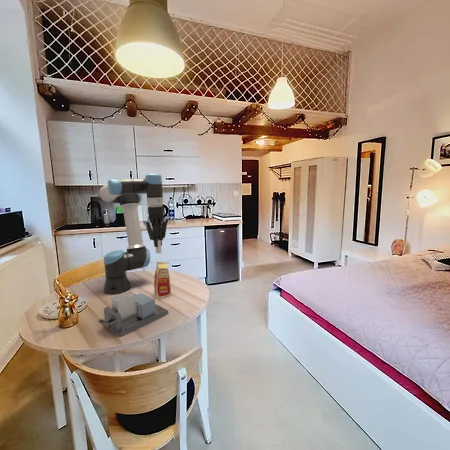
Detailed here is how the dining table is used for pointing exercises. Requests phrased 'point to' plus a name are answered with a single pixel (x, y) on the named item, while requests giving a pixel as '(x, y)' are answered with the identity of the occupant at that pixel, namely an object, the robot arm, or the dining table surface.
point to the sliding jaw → (145, 305)
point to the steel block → (125, 306)
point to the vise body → (116, 326)
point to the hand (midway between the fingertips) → (158, 252)
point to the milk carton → (162, 280)
